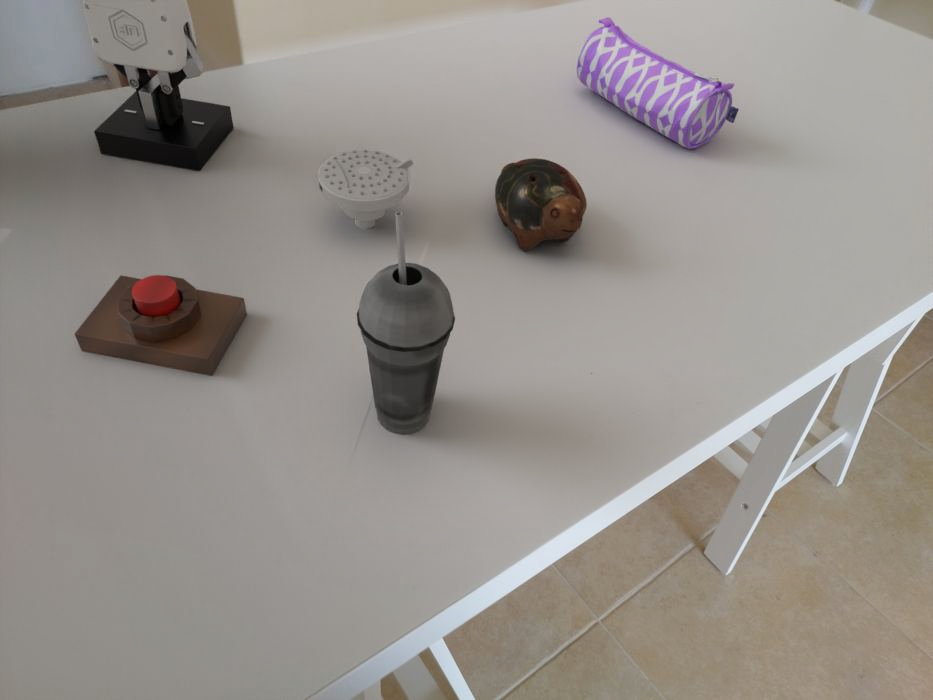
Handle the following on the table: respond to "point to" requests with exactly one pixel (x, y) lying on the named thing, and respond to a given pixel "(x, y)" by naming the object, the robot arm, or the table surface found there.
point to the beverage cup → (405, 339)
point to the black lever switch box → (166, 134)
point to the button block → (164, 328)
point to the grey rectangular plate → (152, 103)
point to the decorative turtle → (539, 201)
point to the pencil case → (654, 87)
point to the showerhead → (364, 183)
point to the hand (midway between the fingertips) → (164, 117)
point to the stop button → (156, 296)
